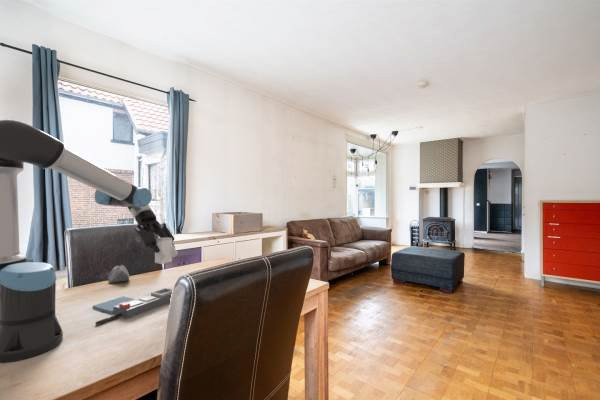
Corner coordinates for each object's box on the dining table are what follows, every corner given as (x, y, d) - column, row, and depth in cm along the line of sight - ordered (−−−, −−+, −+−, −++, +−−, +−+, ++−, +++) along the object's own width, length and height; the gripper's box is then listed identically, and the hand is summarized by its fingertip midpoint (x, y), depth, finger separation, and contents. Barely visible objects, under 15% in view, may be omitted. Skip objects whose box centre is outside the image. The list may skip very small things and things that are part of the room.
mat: (111, 314, 106) (111, 311, 106) (92, 308, 111) (92, 305, 111) (142, 303, 117) (142, 301, 117) (123, 298, 122) (123, 296, 122)
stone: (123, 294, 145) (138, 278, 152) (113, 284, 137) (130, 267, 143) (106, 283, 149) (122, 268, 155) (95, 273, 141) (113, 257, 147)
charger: (161, 263, 117) (161, 239, 117) (154, 262, 118) (155, 238, 118) (171, 261, 121) (172, 237, 121) (165, 260, 123) (165, 237, 123)
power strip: (103, 327, 95) (103, 315, 95) (89, 323, 98) (89, 310, 98) (181, 297, 124) (181, 288, 123) (168, 295, 127) (168, 285, 127)
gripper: (157, 219, 134) (182, 258, 127) (119, 222, 118) (145, 266, 111) (165, 208, 132) (191, 247, 125) (127, 209, 116) (154, 254, 109)
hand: (169, 256), depth 118 cm, fingers closed on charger, 5 cm apart
